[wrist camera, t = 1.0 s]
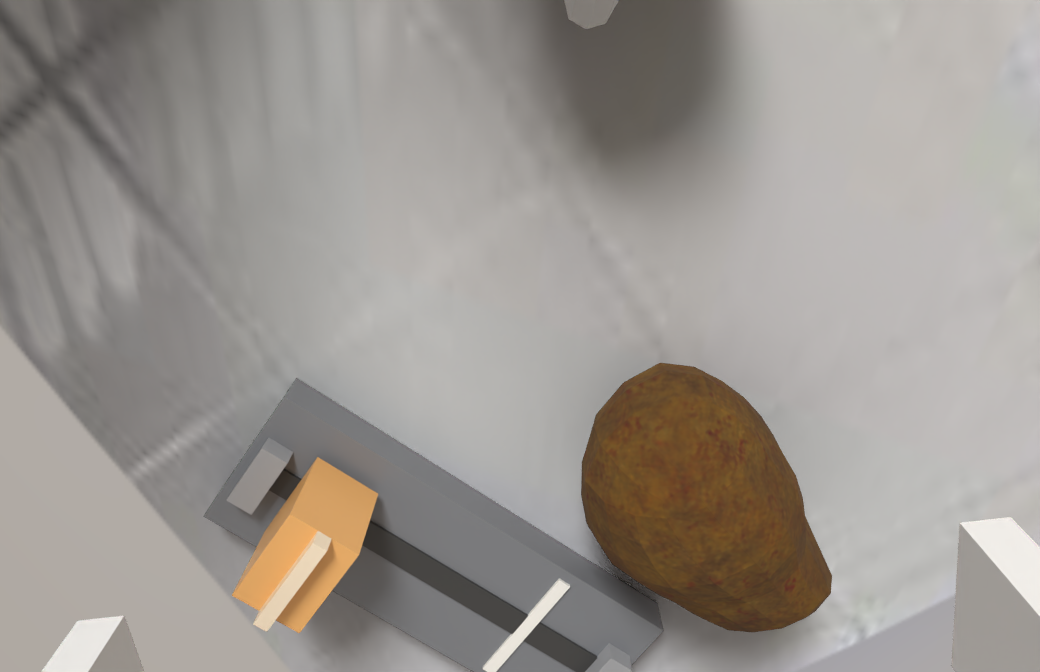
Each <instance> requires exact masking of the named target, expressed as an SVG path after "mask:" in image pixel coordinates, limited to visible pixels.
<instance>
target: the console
mask: <svg viewBox="0 0 1040 672" xmlns="http://www.w3.org/2000/svg"><path fill="white" fill-rule="evenodd" d="M317 457H319V458H320V459H322V460H324V461H325V462H327V463H328V464H330V465H332V466H333V467H335V468H337V469H338V470H340V471H342V472H343V473H345V474H347V475H348V476H350V477H351V478H353V479H355V480H356V481H358V482H360V483H361V484H363V485H365V486H366V487H368V488H370V489H371V490H373V491H375V492H376V493H378V496H377V500H376V503H375V506H374V509H373V512H372V515H371V519H370V522H369V525H368V528H367V531H366V535H365V538H364V541H363V544H362V547H361V550H360V554H359V556H358V557H357V558H356V560H355V561H354V562H353V564H352V565H351V566H350V567H349V569H348V570H347V571H346V573H345V574H344V575H343V577H342V578H341V579H340V581H339V582H338V583H337V585H336V586H335V587H334V588H333V590H332V591H334V592H336V593H337V594H339V595H341V596H343V597H344V598H346V599H348V600H350V601H351V602H353V603H355V604H356V605H358V606H360V607H362V608H363V609H365V610H367V611H369V612H370V613H372V614H374V615H376V616H377V617H379V618H381V619H383V620H384V621H386V622H388V623H389V624H391V625H393V626H395V627H396V628H398V629H400V630H402V631H403V632H405V633H407V634H409V635H410V636H412V637H414V638H416V639H417V640H419V641H421V642H422V643H424V644H426V645H428V646H429V647H431V648H433V649H435V650H436V651H438V652H440V653H442V654H443V655H445V656H447V657H449V658H450V659H452V660H454V661H455V662H457V663H459V664H461V665H462V666H464V667H466V668H468V669H469V670H471V671H473V672H631V671H632V667H631V665H632V664H633V663H634V662H635V661H636V660H637V659H638V657H639V656H640V655H641V654H642V653H643V652H644V651H645V650H646V649H647V648H648V647H649V646H650V645H651V644H652V643H653V641H654V640H655V639H656V638H657V637H658V636H659V635H660V634H661V633H662V632H663V627H662V622H661V618H660V613H659V609H658V604H657V603H656V602H654V601H653V600H651V599H650V598H648V597H646V596H645V595H643V594H642V593H640V592H638V591H637V590H635V589H634V588H632V587H630V586H629V585H627V584H625V583H624V582H622V581H621V580H619V579H617V578H616V577H614V576H613V575H611V574H609V573H608V572H606V571H605V570H603V569H601V568H600V567H598V566H597V565H595V564H593V563H592V562H590V561H589V560H587V559H585V558H584V557H582V556H581V555H579V554H577V553H576V552H574V551H573V550H571V549H569V548H568V547H566V546H565V545H563V544H561V543H560V542H558V541H557V540H555V539H553V538H552V537H550V536H549V535H547V534H545V533H544V532H542V531H541V530H539V529H537V528H536V527H534V526H533V525H531V524H529V523H528V522H526V521H525V520H523V519H521V518H520V517H518V516H517V515H515V514H513V513H512V512H510V511H509V510H507V509H505V508H504V507H502V506H501V505H499V504H497V503H496V502H494V501H493V500H491V499H489V498H488V497H486V496H485V495H483V494H481V493H480V492H478V491H477V490H475V489H473V488H472V487H470V486H469V485H467V484H465V483H464V482H462V481H461V480H459V479H457V478H456V477H454V476H453V475H451V474H449V473H448V472H446V471H445V470H443V469H441V468H440V467H438V466H437V465H435V464H433V463H432V462H430V461H428V460H427V459H425V458H424V457H422V456H420V455H419V454H417V453H416V452H414V451H412V450H411V449H409V448H408V447H406V446H404V445H403V444H401V443H400V442H398V441H396V440H395V439H393V438H392V437H390V436H388V435H387V434H385V433H384V432H382V431H380V430H379V429H377V428H376V427H374V426H372V425H371V424H369V423H368V422H366V421H364V420H363V419H361V418H360V417H358V416H356V415H355V414H353V413H352V412H350V411H348V410H347V409H345V408H344V407H342V406H340V405H339V404H337V403H336V402H334V401H332V400H331V399H329V398H328V397H326V396H324V395H323V394H321V393H320V392H318V391H316V390H315V389H313V388H312V387H310V386H308V385H307V384H305V383H304V382H302V381H300V380H299V379H297V378H296V380H295V381H294V383H293V384H292V386H291V387H290V389H289V390H288V392H287V393H286V395H285V396H284V398H283V399H282V400H281V402H280V403H279V405H278V406H277V408H276V409H275V411H274V412H273V414H272V415H271V417H270V418H269V420H268V421H267V423H266V424H265V426H264V427H263V429H262V430H261V431H260V433H259V434H258V436H257V437H256V439H255V440H254V442H253V443H252V445H251V446H250V448H249V449H248V451H247V452H246V454H245V455H244V457H243V458H242V460H241V461H240V462H239V464H238V465H237V467H236V468H235V470H234V471H233V473H232V474H231V476H230V477H229V479H228V480H227V482H226V483H225V485H224V486H223V488H222V489H221V491H220V492H219V494H218V495H217V497H216V498H215V500H214V501H213V503H212V504H211V506H210V507H209V509H208V510H207V512H206V513H205V515H204V517H205V518H207V519H209V520H210V521H212V522H214V523H216V524H217V525H219V526H221V527H223V528H224V529H226V530H228V531H230V532H231V533H233V534H235V535H237V536H238V537H240V538H242V539H244V540H245V541H247V542H249V543H250V544H252V545H254V546H256V547H257V545H258V544H259V542H260V540H261V538H262V536H263V534H264V532H265V530H266V529H267V527H268V526H269V525H270V523H271V522H272V520H273V519H274V518H275V516H276V515H277V513H278V512H279V510H280V509H281V508H282V506H283V505H284V503H285V502H286V501H287V499H288V498H289V496H290V495H291V494H292V492H293V491H294V489H295V488H296V487H297V485H298V484H299V482H300V481H301V480H302V478H303V477H304V475H305V474H306V472H307V471H308V470H309V468H310V467H311V465H312V464H313V463H314V461H315V460H316V458H317Z"/></svg>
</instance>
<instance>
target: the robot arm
mask: <svg viewBox="0 0 1040 672" xmlns="http://www.w3.org/2000/svg"><path fill="white" fill-rule="evenodd" d="M951 666H952V668H953V669H954V671H955V672H1040V547H1039V546H1038V545H1037V544H1036V543H1035V542H1034V541H1033V540H1032V539H1031V538H1030V537H1029V536H1028V535H1027V534H1026V533H1025V532H1024V531H1023V530H1022V528H1021V527H1020V526H1019V525H1018V524H1017V523H1016V522H1015V521H1014V520H1013V519H1012V518H1011V517H1008V518H999V519H990V520H981V521H972V522H963V523H960V526H959V543H958V561H957V578H956V595H955V612H954V630H953V646H952V663H951ZM42 672H144V670H143V667H142V664H141V661H140V659H139V656H138V653H137V650H136V647H135V644H134V642H133V639H132V636H131V633H130V631H129V628H128V625H127V622H126V619H125V617H124V616H117V617H106V618H98V619H89V620H80V621H77V622H76V624H75V625H74V626H73V628H72V629H71V631H70V632H69V633H68V635H67V636H66V638H65V639H64V640H63V642H62V643H61V645H60V646H59V648H58V649H57V650H56V652H55V653H54V655H53V656H52V657H51V659H50V660H49V662H48V663H47V664H46V666H45V667H44V668H43V670H42Z"/></svg>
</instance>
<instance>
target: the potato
mask: <svg viewBox="0 0 1040 672" xmlns="http://www.w3.org/2000/svg"><path fill="white" fill-rule="evenodd" d="M581 495H582V501H583V506H584V511H585V517H586V522H587V525H588V526H589V528H590V529H591V531H592V533H593V534H594V536H595V538H596V539H597V541H598V543H599V544H600V546H601V547H602V549H603V550H604V552H605V553H606V555H607V556H608V558H609V559H610V561H611V562H612V564H613V565H615V566H616V567H617V568H619V569H620V570H622V571H623V572H625V573H626V574H627V575H629V576H630V577H632V578H633V579H634V580H636V581H637V582H639V583H641V584H642V585H644V586H645V587H647V588H649V589H650V590H652V591H654V592H655V593H657V594H659V595H660V596H662V597H665V598H667V599H669V600H671V601H673V602H675V603H677V604H678V605H680V606H682V607H683V608H685V609H686V610H688V611H690V612H691V613H693V614H695V615H697V616H699V617H701V618H703V619H705V620H707V621H709V622H712V623H714V624H716V625H718V626H720V627H723V628H725V629H727V630H734V631H745V632H758V631H765V630H773V629H780V628H784V627H786V626H788V625H790V624H793V623H795V622H797V621H799V620H802V619H804V618H806V617H807V616H809V615H810V614H812V613H813V612H815V611H816V610H817V609H818V608H819V606H820V605H821V604H822V603H823V602H824V601H825V599H826V598H827V597H828V596H829V595H830V594H831V581H832V575H831V573H830V570H829V568H828V566H827V564H826V562H825V559H824V557H823V555H822V553H821V551H820V548H819V546H818V544H817V542H816V540H815V537H814V535H813V533H812V531H811V528H810V526H809V524H808V522H807V519H806V517H805V513H804V504H803V498H802V494H801V491H800V488H799V485H798V481H797V478H796V475H795V474H794V472H793V470H792V469H791V467H790V465H789V463H788V462H787V460H786V458H785V456H784V455H783V453H782V451H781V449H780V447H779V445H778V443H777V441H776V440H775V438H774V436H773V434H772V433H771V431H770V429H769V428H768V426H767V425H766V423H765V422H764V420H763V418H762V417H761V416H760V415H759V413H758V412H757V411H756V410H755V409H754V408H753V407H752V406H751V405H750V403H749V402H748V401H747V400H746V399H745V398H744V397H743V396H741V395H740V394H739V393H737V392H736V391H735V390H733V389H732V388H731V387H729V386H728V385H726V384H725V383H724V382H722V381H721V380H719V379H717V378H715V377H713V376H711V375H709V374H707V373H705V372H703V371H701V370H699V369H697V368H695V367H691V366H683V365H674V364H666V363H659V364H657V365H655V366H653V367H651V368H650V369H648V370H646V371H644V372H642V373H640V374H639V375H637V376H635V377H633V378H631V379H629V380H628V381H626V382H624V383H623V384H622V385H621V386H620V387H619V388H618V390H617V391H616V392H615V393H614V394H613V396H612V397H611V398H610V399H609V400H608V401H607V403H606V404H605V405H604V406H603V407H602V408H601V410H600V411H599V412H598V413H597V414H596V417H595V421H594V424H593V427H592V431H591V434H590V438H589V441H588V444H587V448H586V451H585V454H584V457H583V461H582V488H581Z"/></svg>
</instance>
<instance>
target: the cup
mask: <svg viewBox="0 0 1040 672" xmlns="http://www.w3.org/2000/svg"><path fill="white" fill-rule="evenodd" d="M618 1H619V0H564V2H565V6H566V11H567V15H568V19H569V20H571V21H573V22H574V23H576V24H577V25H579V26H581V27H582V28H584V29H589V28H593V27H596V26H599V25H603V24H606V22H607V21H608V19H609V17H610V15H611V14H612V12H613V10H614V8H615V7H616V5H617V3H618Z"/></svg>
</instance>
